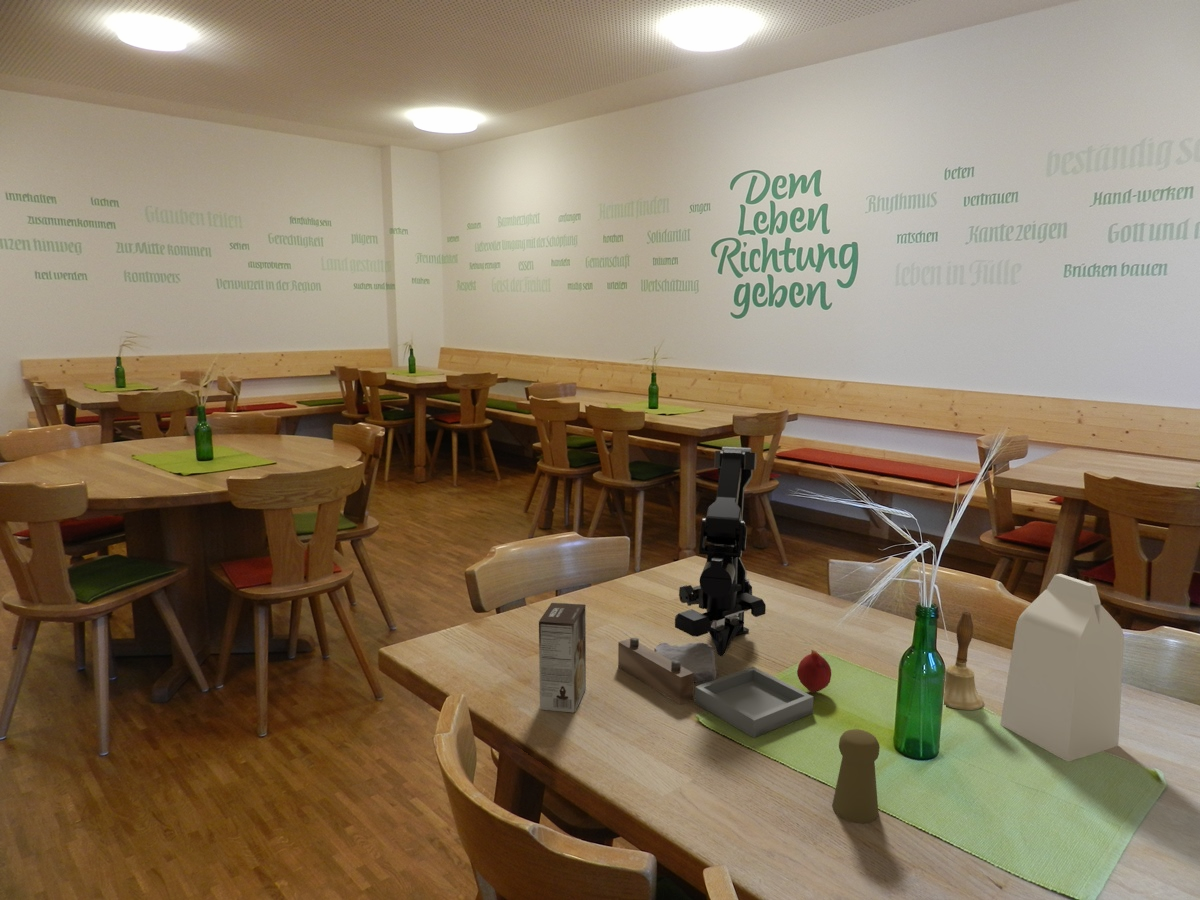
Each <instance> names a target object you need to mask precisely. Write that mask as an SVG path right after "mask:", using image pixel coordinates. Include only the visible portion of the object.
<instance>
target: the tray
mask: <svg viewBox="0 0 1200 900" xmlns="http://www.w3.org/2000/svg"><path fill="white" fill-rule="evenodd" d="M814 697H815V696H813V695H811V694H809V693H807V692H805V691H803V690H801V689H799V688H797V687H796V686H793V685H791V684H789V683H787V682H785V681H783V680H782V679H779V678H777V677H775V676H773V675H771V674H769V673H767V672H765V671H763V670H761V669H759V668H757V667H755V666H751V667H748V668H745V669H742V670H740V671H739V670H738V671H737V672H733V673H730V674H727V675H724V676H722V677H719V678H715V679H714V680H712V681H708V682H703V683H702V684H699V685H697V686H694V703H695V705H698V706H699V707H701V708H703V709H704V710H706V711H708V712H710V713H711V714H713V715H714V716H716V717H718V718H719V719H720V720H723V721H724V722H726V723H727V724H730V725H731V726H733V727H734V728H736V729H738V730H739V731H740V732H743V733H744V734H746V735H748V736H750V737H751V738H753V739H754V738H757V737H759V736H761V735H765V734H766V733H769V732H771V731H774V730H776V729H778V728H781V727H783V726H786V725H788V724H790V723H793V722H795V721H797V720H799V719H802V718H804V717H807V716H809V715H811V714H813V712H814Z"/></svg>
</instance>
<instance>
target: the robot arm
mask: <svg viewBox="0 0 1200 900" xmlns="http://www.w3.org/2000/svg"><path fill="white" fill-rule="evenodd" d="M713 468H714V469H717V474H718V482H717V488H716V489H717V490H716V496H715V501H714V502H712V504H710V505H709V506H708V507H707V511H706V516H705V518H704V517H702V520H701V529H700V539H699V549H698V555H706V562H705V564H704V567H703V569H702V572H701V574H700V576H699V585H697V586H694V587H693V586H692V585H691V584H688V585H687V584H686V585H681V586H679V591H678V596H679V601H680V602H681V604H687V606H688V607H689V606H690V607H691V606H693V605H698V608H699V609H701V610H706V612H703V613H701V612H699V611H696V610H695V609H692V608H691V609H689V610H685V611H682V612H681V611H680V612H679V613H678V612H677V614H676V615H675V616H674V628H676V629H677V630H679V631H681V632H684V633H685V634H687V635H690V636H692V637H701V636H703V635H707V634H708V633H709V635H710V637H711V641H712V643H713V645H714V646H713V647H714V648H715V652H716V654H717V655H718V656H719V657H724V656H725V654H726V652H727V651H728V648H729V647H730V645H731V643H732V642H733V639H734V637H735V636H740V635H742V634H745V633H749V631H750V628H747V627H745V626H744V625H745V612H747V611H750V613H751V615H752V616H754V617H755V618H757V617H760V616H761V617H762V616H763V615H766V603H765V601H764V600H763V599H762V598H760V597H758V596H755V595H753V586H752V585H751V583H750V579H748V578H747V577H748V576H747V572H748V571H747V570H746V568H745V566H744V563H743V562H742V560H741V557H742V553H743V552H745V551H746V548H747V547H746V545H747V534H748V527H747V526H746V522H745V520H743V514H744V513H743V512H744V499H745V490H746V488H747V486H748V485H749V483H750V482H751V481H752V479H753V472H754V471H755V470H756V469H757V452H752V448H751V447H739V446H737V447H736V446H722V447H721V450H715V451H714V466H713ZM705 542H706V543H708V544H705Z"/></svg>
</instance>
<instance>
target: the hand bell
mask: <svg viewBox="0 0 1200 900" xmlns="http://www.w3.org/2000/svg"><path fill="white" fill-rule="evenodd" d="M973 635H974V623H973V619H972V614H971V612H970V611H963V612H962V614H961V616H960V618H959V619H958V622H957V625H956V641H957V646H958V647H957V653H956V658H955V659H956V660H955V664H953V665H949V666H947V667H946V670H945V673H946V681H945V693H944V704H943V706H946V707H948V708H951V709H952V708H953V709H956V710H962V711H964V710H965V711H975V710H980V709H981V708H983V707H984V704H985V701H984V698H983V697H982V696H981V695H980V694H979V693H978V690H977V687H976V682H975V681H976V680H975V672H974V671H973V670H972V669H971V668H969V667H968V666H967V662H968V649H969V646H970V643H971V642H972V639H973Z"/></svg>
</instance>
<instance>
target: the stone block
mask: <svg viewBox="0 0 1200 900" xmlns="http://www.w3.org/2000/svg"><path fill="white" fill-rule="evenodd" d="M653 651H655V652H657V653H659V654H660V655H662V656H664V657H666V658H668V659H669V660H671V661H674V660H677V661H680V662H681V666H682V667H684V668H686V669H688V670H689V671H691V672H693V673H694V683H697V684H698V683H702V684H703V683H707V682H710V681H713V680H716V679H717V675H718V674H717V671H716V667H715V660H716V649H715V647H714V646H712V645H710V644H709V643H704V642H695V643H686V644H684V645H683V644H682V645H672V644H669V643H667V642H661V643H659V644H658V645H656V646H655V648H654V650H653Z"/></svg>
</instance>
